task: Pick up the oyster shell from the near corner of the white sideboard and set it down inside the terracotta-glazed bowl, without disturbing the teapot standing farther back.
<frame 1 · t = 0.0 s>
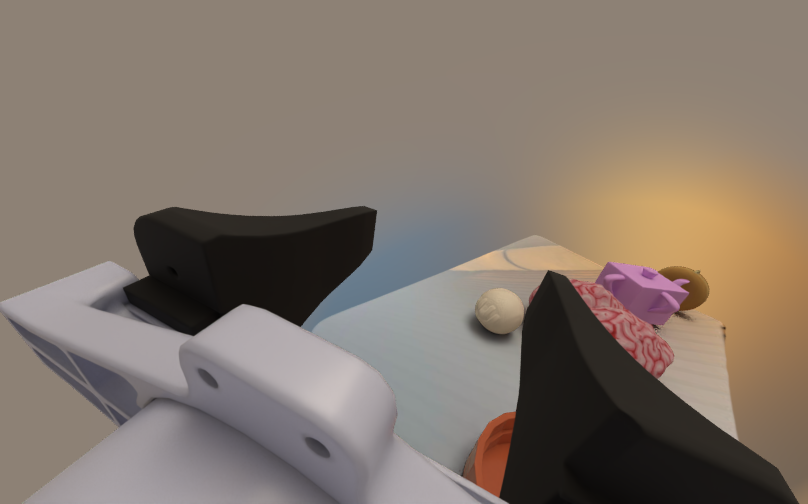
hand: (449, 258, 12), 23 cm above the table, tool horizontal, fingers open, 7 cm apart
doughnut: (663, 306, 64), on the table
teapot: (626, 314, 58), on the table
brain: (579, 345, 46), on the table
cream ball: (490, 328, 46), on the table
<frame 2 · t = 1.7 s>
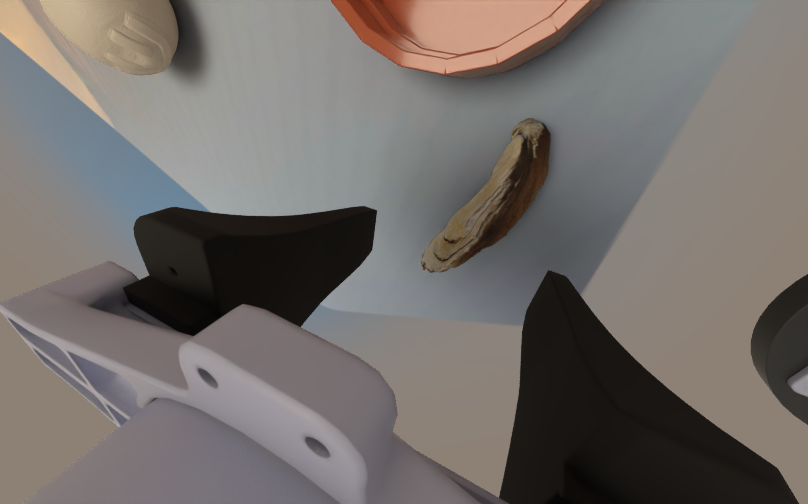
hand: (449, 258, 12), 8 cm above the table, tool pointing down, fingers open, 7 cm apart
oyster shell: (485, 198, 19), on the table
cream ball: (171, 24, 22), on the table
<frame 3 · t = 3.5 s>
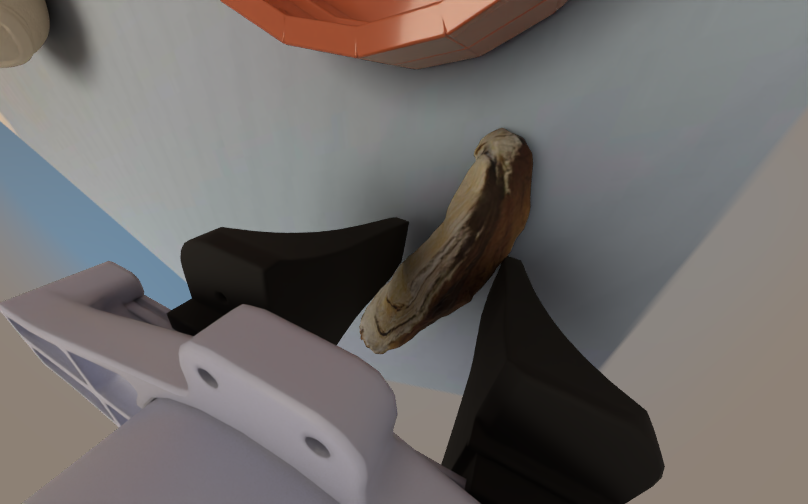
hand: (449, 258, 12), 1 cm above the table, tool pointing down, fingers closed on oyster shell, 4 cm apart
oyster shell: (446, 238, 13), on the table, touching gripper
cream ball: (44, 1, 17), on the table
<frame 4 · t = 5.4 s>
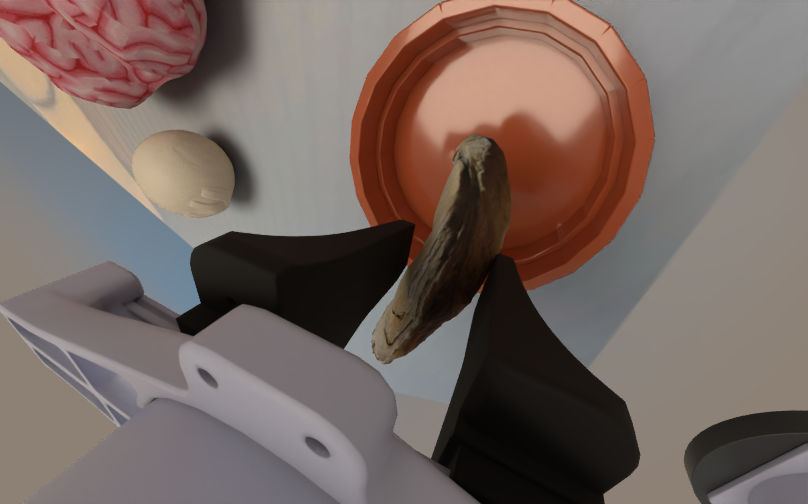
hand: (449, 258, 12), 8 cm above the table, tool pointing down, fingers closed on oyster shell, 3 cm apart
oyster shell: (445, 246, 14), point 7 cm above the table, touching gripper
bowl: (486, 158, 17), on the table
cream ball: (227, 168, 27), on the table
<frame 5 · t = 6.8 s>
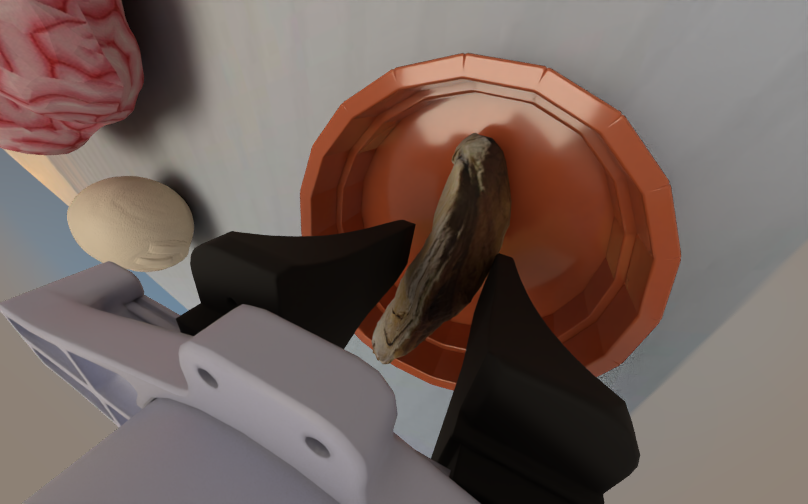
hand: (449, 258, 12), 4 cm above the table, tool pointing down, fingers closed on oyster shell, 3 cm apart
oyster shell: (445, 246, 14), point 2 cm above the table, touching gripper
bowl: (468, 226, 15), on the table
cream ball: (187, 211, 25), on the table
when the fingers open (2 cm above the table, at t = 7.6 s): oyster shell stays where it is, resting on bowl.
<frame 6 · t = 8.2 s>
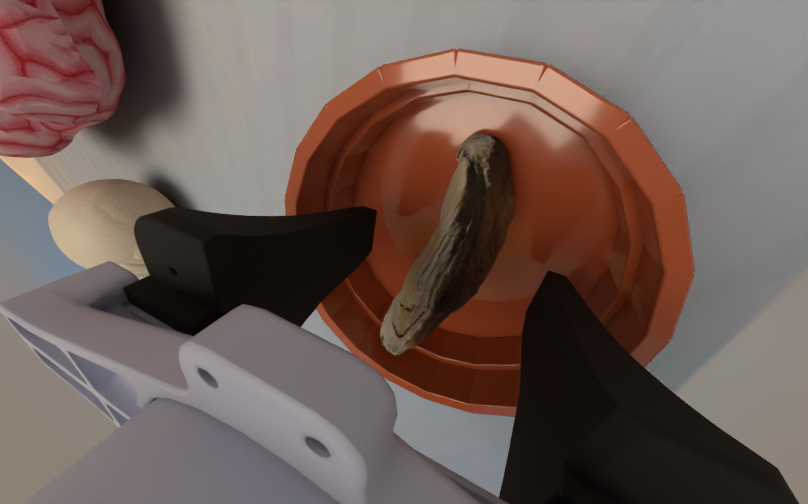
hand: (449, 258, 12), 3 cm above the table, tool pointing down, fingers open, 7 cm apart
oyster shell: (448, 240, 14), resting on bowl
bowl: (464, 232, 14), on the table
cream ball: (176, 214, 24), on the table
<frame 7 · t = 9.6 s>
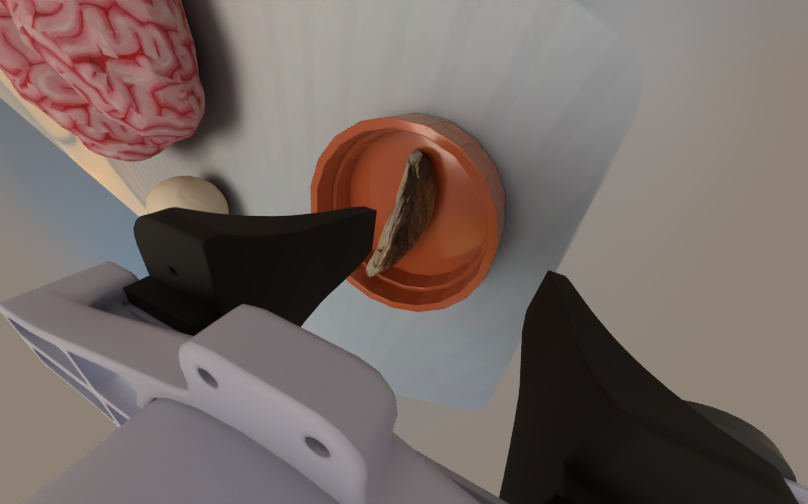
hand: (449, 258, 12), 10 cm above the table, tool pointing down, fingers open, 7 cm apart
brain: (156, 47, 27), on the table
oyster shell: (407, 212, 23), resting on bowl
bowl: (416, 207, 23), on the table
cream ball: (222, 202, 33), on the table
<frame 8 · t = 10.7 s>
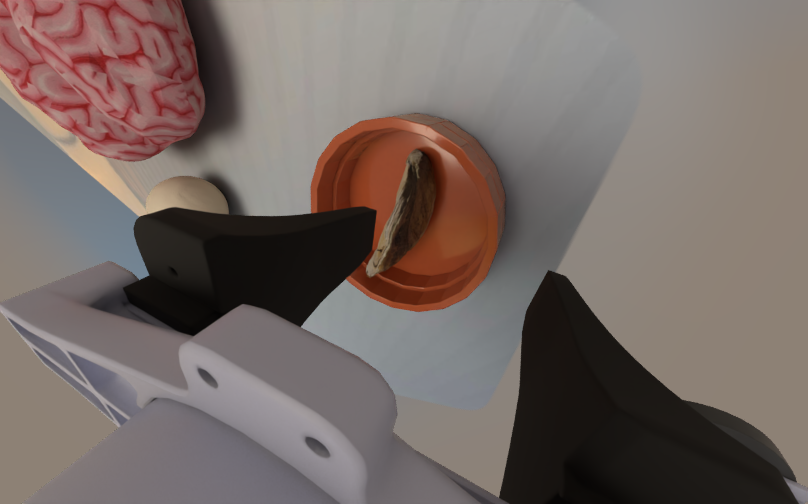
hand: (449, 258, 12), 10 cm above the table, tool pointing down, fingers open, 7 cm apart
brain: (156, 47, 27), on the table
oyster shell: (407, 212, 23), resting on bowl
bowl: (416, 207, 23), on the table
cream ball: (222, 202, 33), on the table
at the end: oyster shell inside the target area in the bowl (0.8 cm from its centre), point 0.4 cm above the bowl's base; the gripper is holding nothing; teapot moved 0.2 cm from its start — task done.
